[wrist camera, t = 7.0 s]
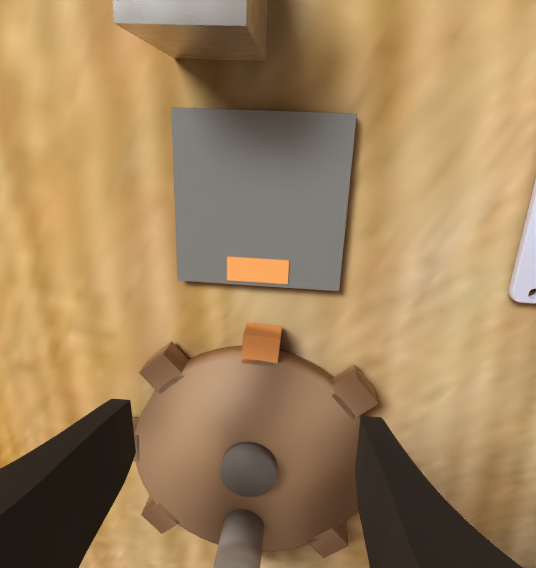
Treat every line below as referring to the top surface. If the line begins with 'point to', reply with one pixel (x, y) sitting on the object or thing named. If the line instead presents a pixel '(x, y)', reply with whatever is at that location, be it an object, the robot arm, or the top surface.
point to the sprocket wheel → (251, 447)
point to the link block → (198, 27)
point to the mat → (261, 196)
